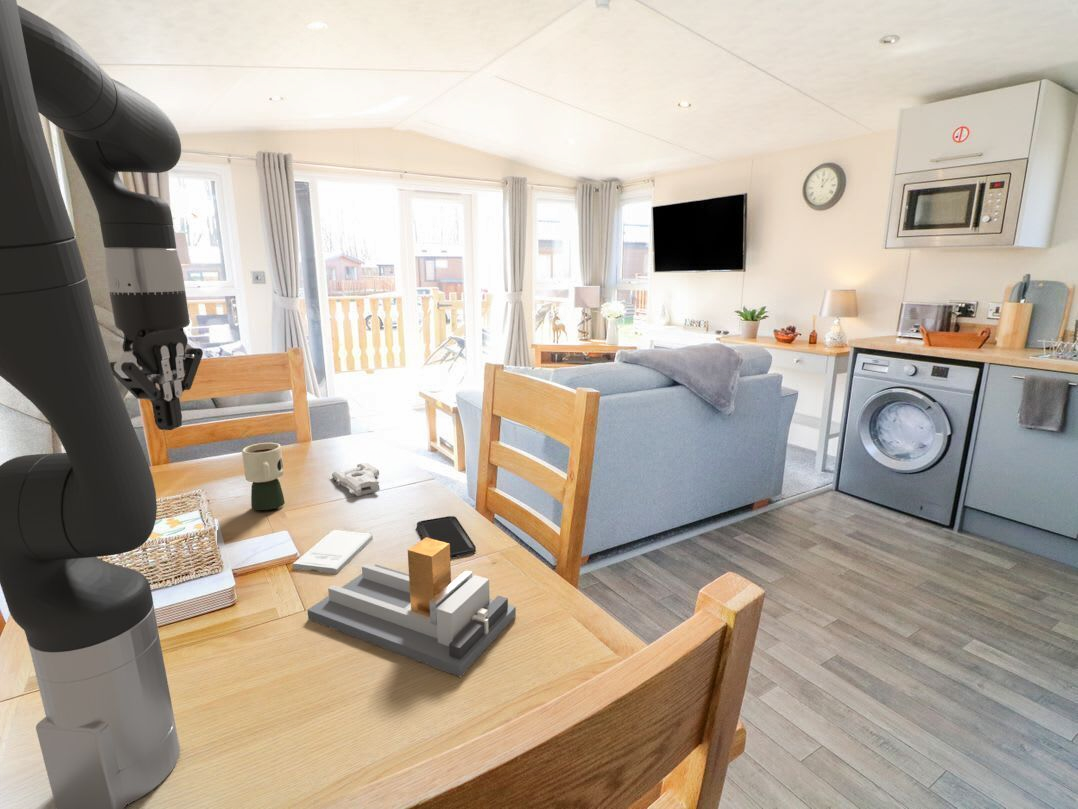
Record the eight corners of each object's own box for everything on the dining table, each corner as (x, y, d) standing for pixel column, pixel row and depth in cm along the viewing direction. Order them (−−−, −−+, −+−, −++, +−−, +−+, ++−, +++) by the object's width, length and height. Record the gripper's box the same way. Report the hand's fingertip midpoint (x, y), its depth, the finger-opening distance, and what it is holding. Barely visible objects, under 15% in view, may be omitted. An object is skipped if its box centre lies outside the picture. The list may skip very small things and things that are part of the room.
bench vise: (308, 619, 81) (303, 578, 79) (376, 572, 93) (373, 536, 92) (460, 677, 70) (459, 630, 68) (515, 615, 82) (515, 575, 80)
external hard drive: (373, 541, 105) (337, 576, 93) (332, 537, 106) (292, 571, 95) (372, 533, 104) (336, 567, 93) (331, 529, 106) (291, 562, 94)
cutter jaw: (395, 623, 77) (390, 555, 75) (432, 592, 84) (429, 529, 82) (437, 638, 74) (434, 568, 72) (472, 604, 81) (470, 539, 79)
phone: (454, 515, 113) (477, 549, 99) (454, 520, 113) (477, 555, 100) (415, 521, 110) (432, 557, 96) (415, 527, 110) (432, 563, 97)
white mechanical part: (395, 476, 126) (350, 486, 120) (396, 490, 127) (352, 502, 121) (366, 458, 141) (325, 467, 135) (368, 471, 141) (327, 480, 136)
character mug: (291, 513, 115) (284, 452, 112) (252, 521, 112) (244, 458, 108) (283, 494, 124) (276, 438, 121) (246, 501, 121) (239, 443, 117)
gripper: (132, 291, 61) (157, 445, 65) (214, 286, 73) (231, 415, 78) (68, 290, 62) (98, 443, 66) (160, 285, 74) (180, 413, 79)
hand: (170, 428), depth 72 cm, fingers closed
